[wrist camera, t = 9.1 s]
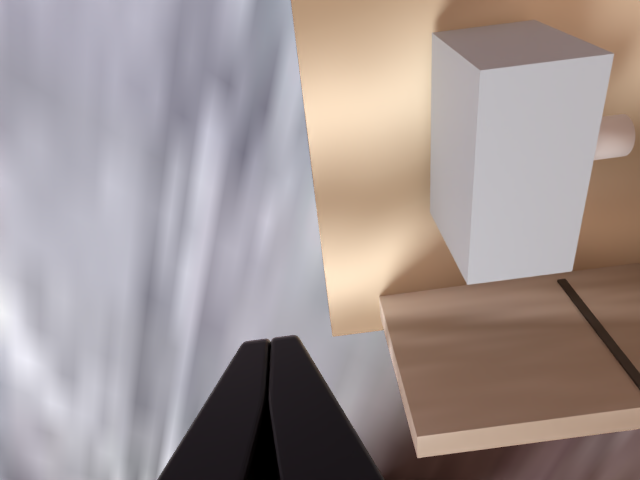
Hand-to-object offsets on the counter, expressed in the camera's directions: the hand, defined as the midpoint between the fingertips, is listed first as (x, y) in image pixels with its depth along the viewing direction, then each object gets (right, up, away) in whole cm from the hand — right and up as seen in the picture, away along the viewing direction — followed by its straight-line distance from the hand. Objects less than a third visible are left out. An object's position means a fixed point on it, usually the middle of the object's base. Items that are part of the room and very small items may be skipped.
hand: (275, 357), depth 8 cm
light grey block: (+7, +6, +9) cm, 12 cm away
